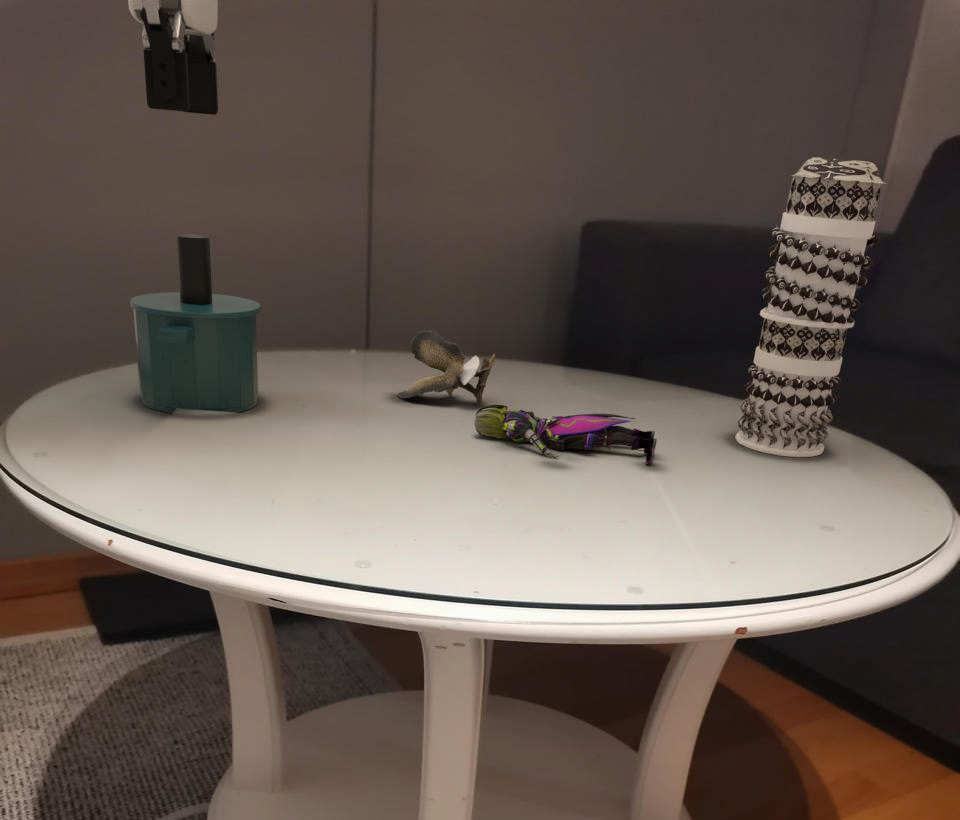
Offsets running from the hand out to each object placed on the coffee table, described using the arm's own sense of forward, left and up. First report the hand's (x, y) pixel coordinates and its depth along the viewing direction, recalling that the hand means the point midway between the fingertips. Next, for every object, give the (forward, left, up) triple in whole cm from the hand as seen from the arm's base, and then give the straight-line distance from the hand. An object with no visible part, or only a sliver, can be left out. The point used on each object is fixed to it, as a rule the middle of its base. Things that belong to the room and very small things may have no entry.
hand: (184, 111), depth 82 cm
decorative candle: (+56, 0, -24) cm, 61 cm away
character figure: (+34, -8, -24) cm, 43 cm away
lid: (0, 0, -16) cm, 16 cm away
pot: (0, 0, -24) cm, 24 cm away
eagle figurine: (+23, +8, -24) cm, 35 cm away
